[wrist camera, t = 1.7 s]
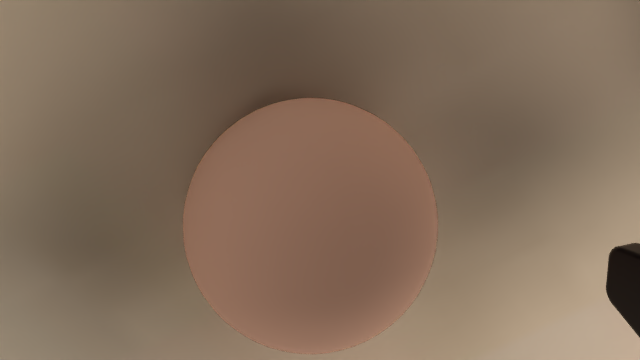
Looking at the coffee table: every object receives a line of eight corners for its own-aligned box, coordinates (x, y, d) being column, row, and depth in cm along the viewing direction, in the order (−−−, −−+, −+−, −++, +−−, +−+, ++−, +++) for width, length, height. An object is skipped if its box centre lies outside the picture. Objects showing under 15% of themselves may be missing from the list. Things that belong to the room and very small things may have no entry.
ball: (424, 138, 16) (544, 213, 10) (328, 298, 17) (389, 445, 11) (246, 40, 14) (273, 67, 8) (152, 229, 15) (118, 367, 9)
